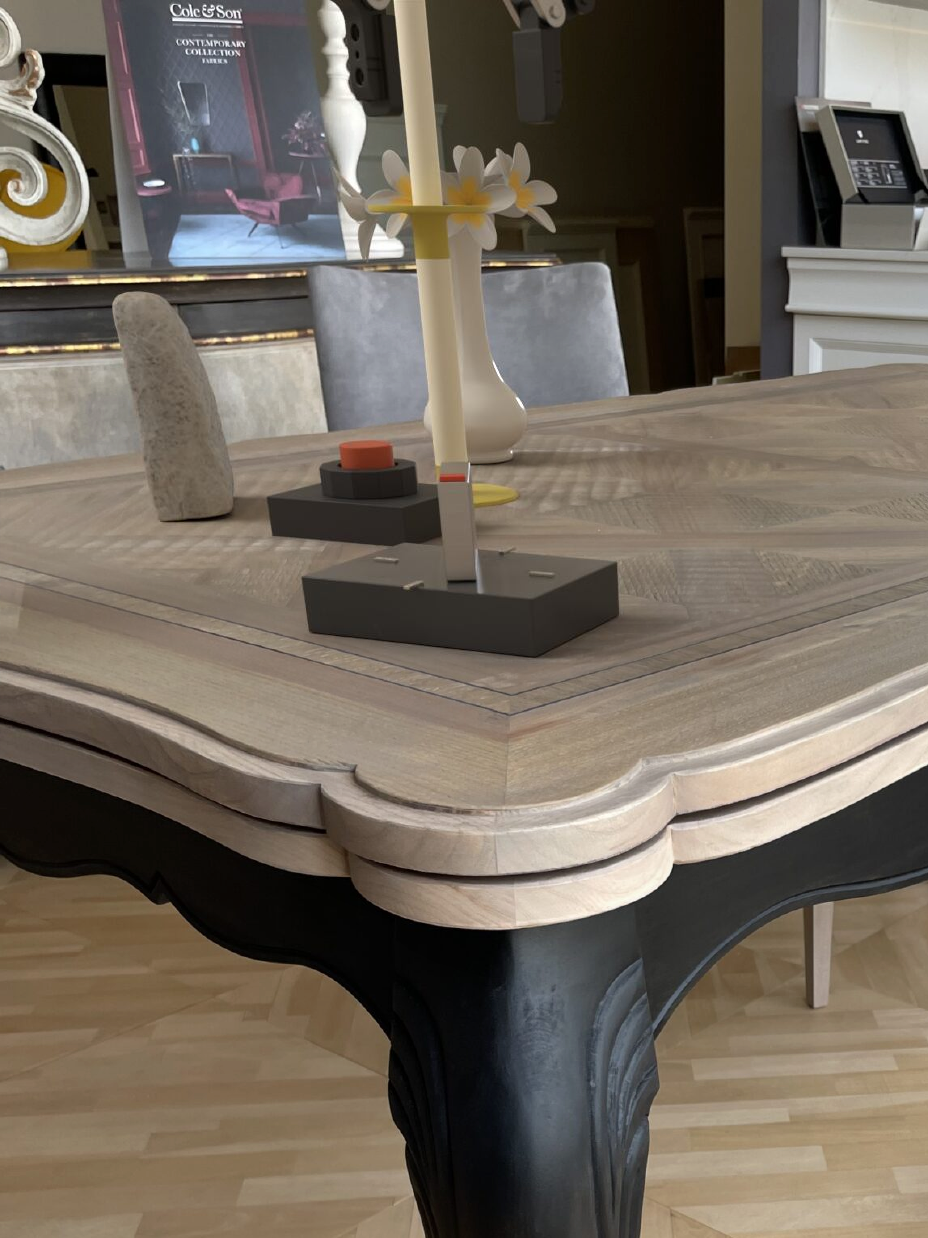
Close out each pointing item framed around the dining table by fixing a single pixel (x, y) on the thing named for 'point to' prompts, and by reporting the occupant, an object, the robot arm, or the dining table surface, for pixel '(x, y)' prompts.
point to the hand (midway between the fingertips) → (463, 120)
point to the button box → (360, 507)
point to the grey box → (457, 521)
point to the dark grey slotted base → (463, 599)
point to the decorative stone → (173, 411)
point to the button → (366, 454)
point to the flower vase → (468, 276)
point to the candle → (433, 248)
